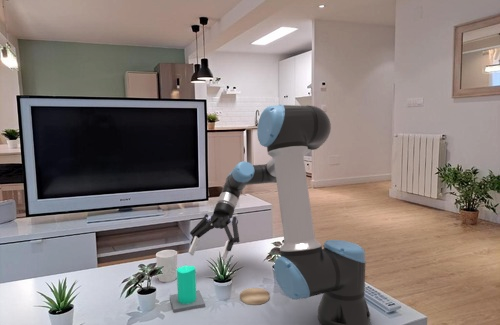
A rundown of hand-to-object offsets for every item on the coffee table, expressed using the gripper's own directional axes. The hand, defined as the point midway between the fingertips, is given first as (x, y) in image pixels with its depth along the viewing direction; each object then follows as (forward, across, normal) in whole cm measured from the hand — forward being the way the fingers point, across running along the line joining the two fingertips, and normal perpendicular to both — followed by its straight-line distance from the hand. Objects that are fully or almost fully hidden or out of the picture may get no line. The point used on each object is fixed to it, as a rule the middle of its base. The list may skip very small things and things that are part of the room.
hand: (206, 256), depth 126 cm
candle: (+16, 0, +1) cm, 16 cm away
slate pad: (+17, 0, +1) cm, 17 cm away
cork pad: (+8, -19, -8) cm, 22 cm away
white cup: (+8, +18, -8) cm, 21 cm away
